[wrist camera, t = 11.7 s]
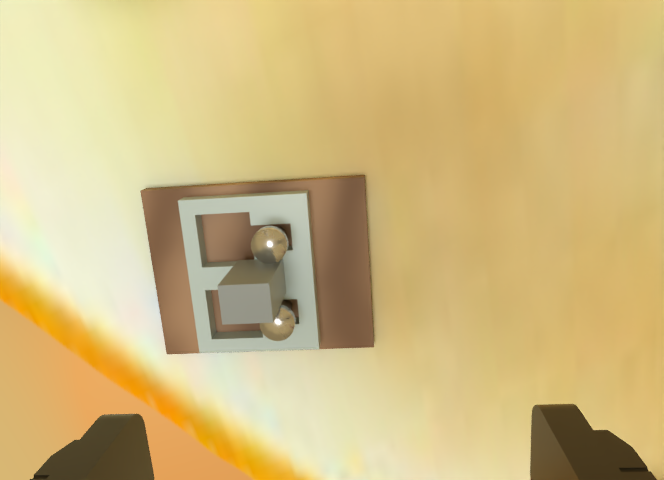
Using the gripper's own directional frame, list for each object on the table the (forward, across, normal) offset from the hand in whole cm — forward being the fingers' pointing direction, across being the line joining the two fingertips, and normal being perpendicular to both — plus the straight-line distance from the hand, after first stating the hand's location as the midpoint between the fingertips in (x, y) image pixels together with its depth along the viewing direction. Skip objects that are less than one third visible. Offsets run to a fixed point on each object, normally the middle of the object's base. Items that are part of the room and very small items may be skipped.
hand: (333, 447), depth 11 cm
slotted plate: (+25, +7, +4) cm, 26 cm away
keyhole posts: (+26, +6, +4) cm, 27 cm away
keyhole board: (+26, +7, +4) cm, 27 cm away
